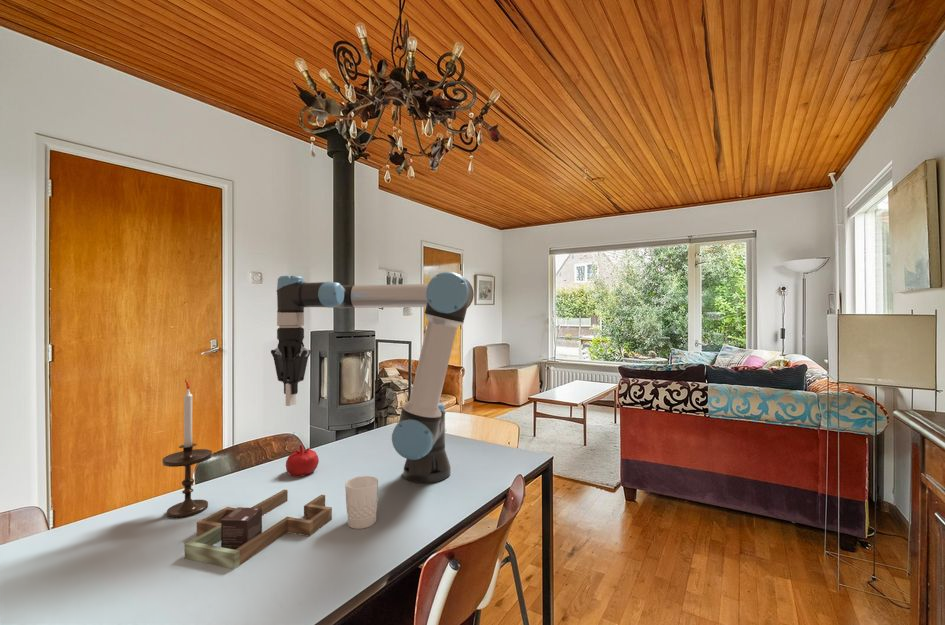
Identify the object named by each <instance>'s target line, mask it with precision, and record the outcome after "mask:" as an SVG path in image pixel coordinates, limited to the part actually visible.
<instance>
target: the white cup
mask: <svg viewBox="0 0 945 625" xmlns="http://www.w3.org/2000/svg"><path fill="white" fill-rule="evenodd" d="M344 485H345V486H344V488H345V503H346V504H345V506H346V513H347V526H349V527H350V528H352V529H355V530H357V529H358V530H359V529H361V530H362V529H367V528H369V527H372V526H373V525H374V524H375V523H376V521H377V509H378V494H379V492H378V491H379V479H378V478H377V477H375V476H372V475H362V476H361V475H360V476H355V477H352V478H350V479H348V480H346V481H345V483H344Z"/></svg>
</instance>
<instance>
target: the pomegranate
mask: <svg viewBox="0 0 945 625" xmlns="http://www.w3.org/2000/svg"><path fill="white" fill-rule="evenodd" d="M298 447H299V449H296V448H294V449H292V451H291V454H290V455H288V456H287V459H286V462H285V469H286V472H287V473H288V475H289V476H292V477H303V476H306V475H308V474H312V473H314V471H315V470H316V469H317V467H318V464H319V463H320V460H319V459H320V458H319V456H318V454H317V452H316V451H314V450H313V449H314V448H312V447H307V449H304V448H305V446H304V447H303V444H300V445H298Z"/></svg>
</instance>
